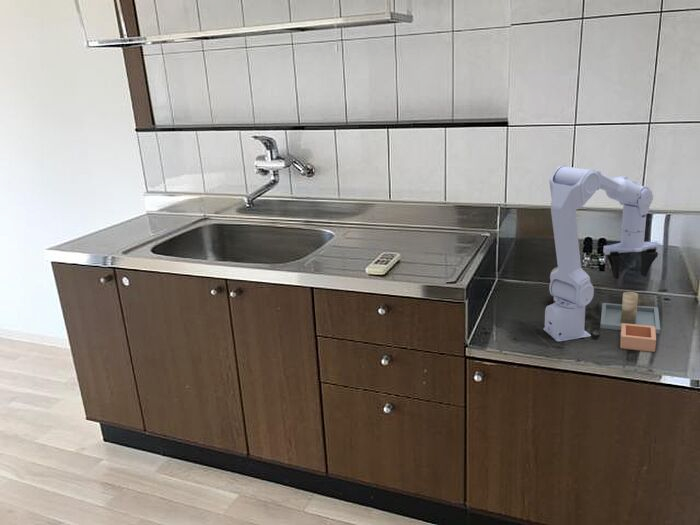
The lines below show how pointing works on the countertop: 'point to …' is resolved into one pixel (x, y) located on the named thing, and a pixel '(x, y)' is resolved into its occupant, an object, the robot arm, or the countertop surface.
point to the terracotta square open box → (638, 337)
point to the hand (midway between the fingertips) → (629, 276)
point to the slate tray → (643, 316)
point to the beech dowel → (629, 307)
